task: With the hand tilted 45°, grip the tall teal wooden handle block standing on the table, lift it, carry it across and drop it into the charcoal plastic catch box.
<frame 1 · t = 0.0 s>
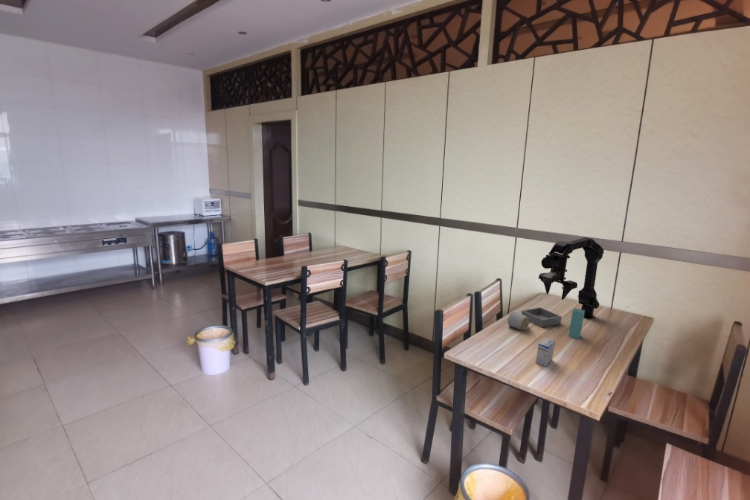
hand: (554, 296, 199), 15 cm above the table, tool pointing down, fingers open, 9 cm apart
catch box: (540, 320, 206), on the table
ceramic mug: (518, 327, 196), on the table
medicine box: (543, 362, 163), on the table
handle block: (574, 336, 189), on the table
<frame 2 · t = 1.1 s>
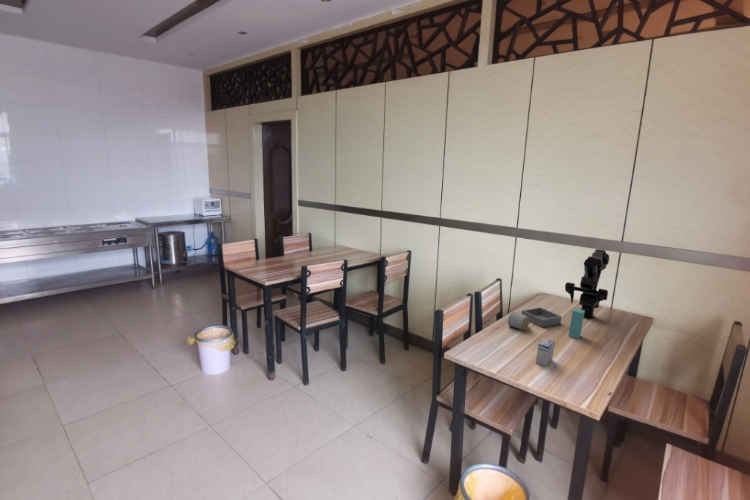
hand: (581, 305, 192), 13 cm above the table, tool tilted 45°, fingers open, 9 cm apart
nothing on the table moved.
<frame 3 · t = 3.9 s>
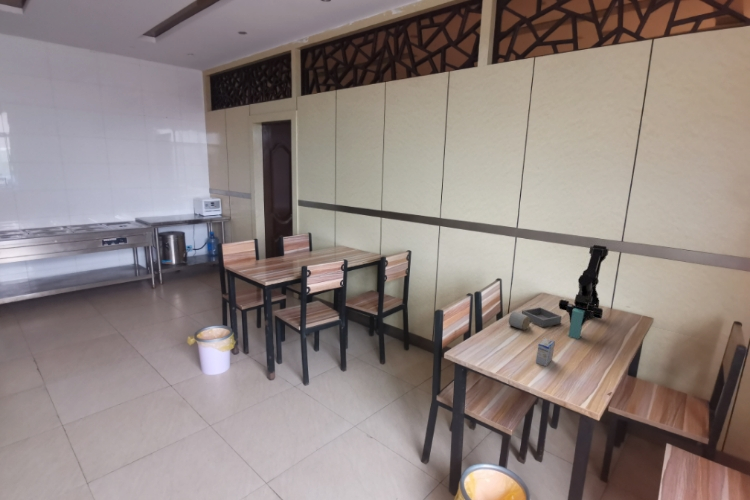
hand: (576, 324, 186), 7 cm above the table, tool tilted 45°, fingers closed on handle block, 4 cm apart
handle block: (574, 336, 189), on the table, touching gripper
when the fingers open (10 cm above the table, at t = 7.4 s): handle block drops 3 cm, resting on catch box.
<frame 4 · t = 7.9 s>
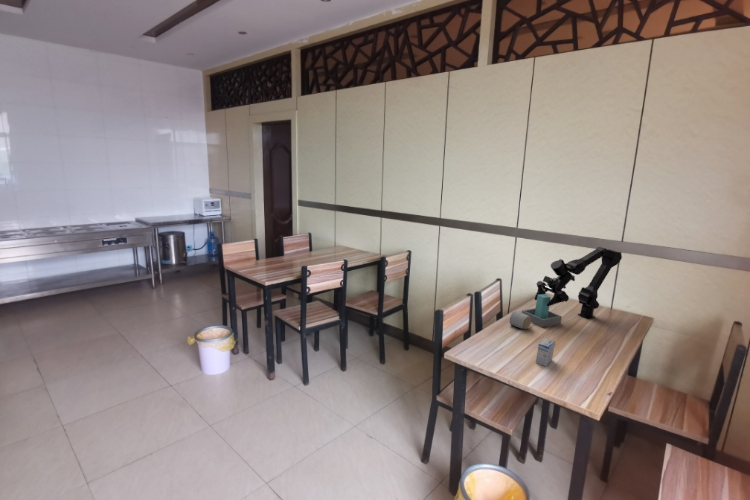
hand: (540, 302, 203), 10 cm above the table, tool tilted 45°, fingers open, 9 cm apart
handle block: (540, 319, 206), point 1 cm above the table, touching catch box
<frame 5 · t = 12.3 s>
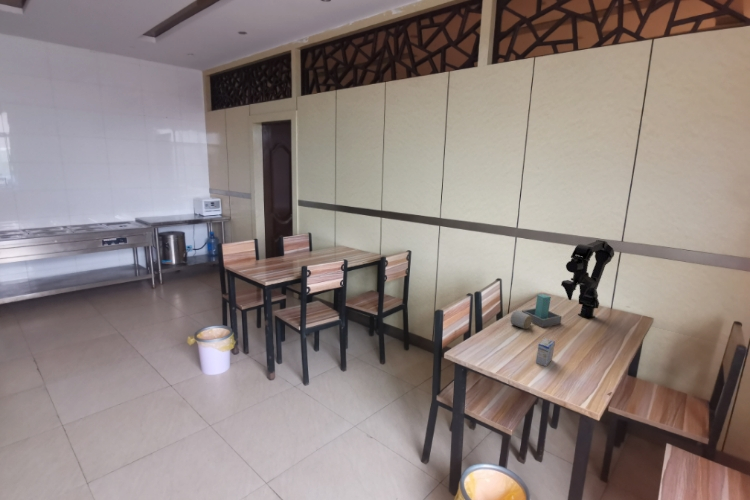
hand: (575, 298, 203), 13 cm above the table, tool pointing down, fingers open, 9 cm apart
at the end: handle block inside the target area on the catch box (0.1 cm from its centre), point 0.6 cm above the catch box's base; the gripper is holding nothing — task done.
